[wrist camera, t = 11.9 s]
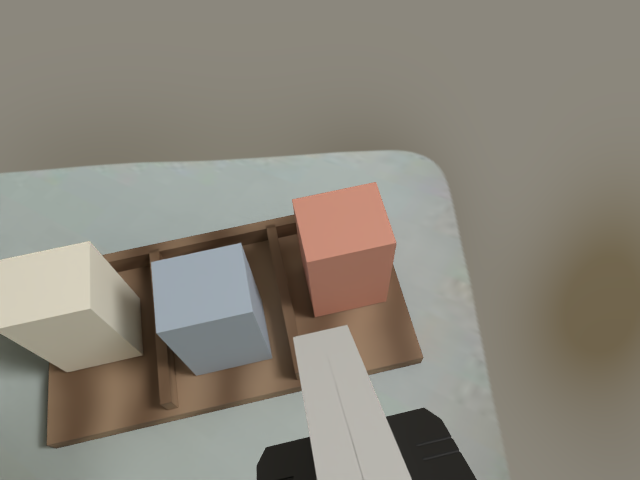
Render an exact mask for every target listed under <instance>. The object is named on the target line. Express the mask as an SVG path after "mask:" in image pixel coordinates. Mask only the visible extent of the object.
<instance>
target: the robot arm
mask: <svg viewBox="0 0 640 480" xmlns="http://www.w3.org/2000/svg"><path fill="white" fill-rule="evenodd" d="M293 341H294V347H295V353H296V358H297V364H298V370H299V376H300V382H301V388H302V394H303V400H304V405H305V411H306V417H307V423H308V429H309V435H310V437H307V438H303V439H299V440H295V441H291V442H286V443H282V444H278V445H274V446H270V447H266V448H265V450H264V452H263V454H262V456H261V458H260V460H259V462H258V464H257V480H477V479H476V478H475V476H474V474H473V473H472V471H471V469H470V467H469V466H468V464H467V462H466V461H465V459H464V457H463V455H462V454H461V452H459V449H458V447H457V445H456V443H455V442H454V440H453V439H452V438H451V435H450V433H449V432H448V430H447V428H446V426H445V425H444V423H443V421H442V420H441V419H440V418H439V417H437V416H436V415H434V414H433V413H431V412H430V411H428V410H427V409H425V408H421V409H417V410H412V411H408V412H404V413H400V414H396V415H392V416H387V417H386V416H385V414H384V412H383V409H382V407H381V404H380V402H379V400H378V397H377V395H376V392H375V390H374V388H373V385H372V383H371V380H370V378H369V376H368V373H367V371H366V368H365V366H364V364H363V361H362V359H361V356H360V354H359V352H358V349H357V347H356V344H355V342H354V340H353V337H352V335H351V333H350V330H349V328H348V325H344V326H340V327H336V328H331V329H327V330H322V331H318V332H314V333H309V334H305V335H300V336H296V337H293Z"/></svg>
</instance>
